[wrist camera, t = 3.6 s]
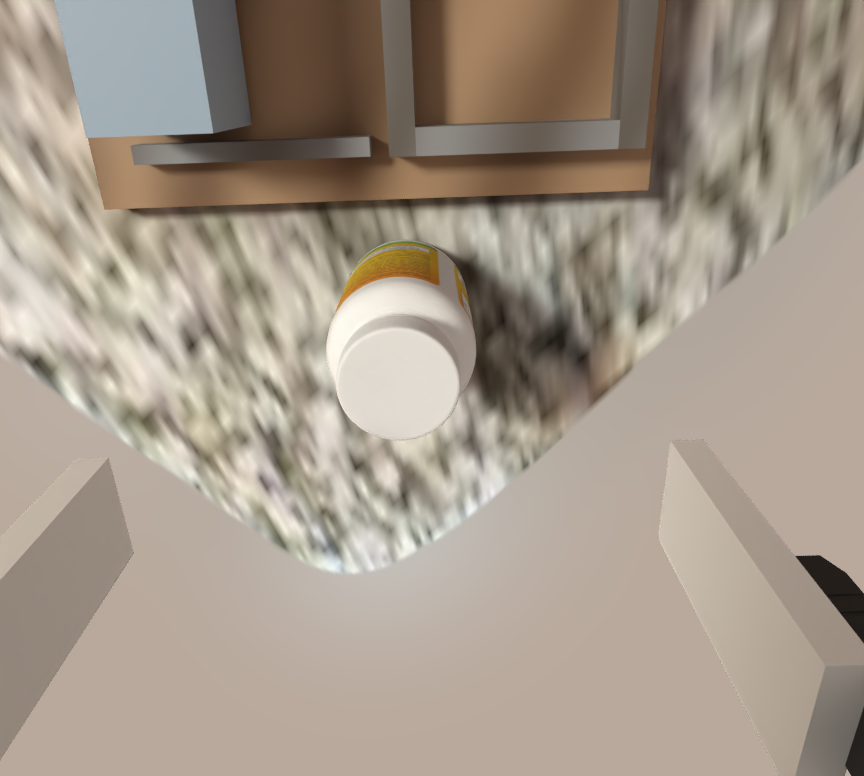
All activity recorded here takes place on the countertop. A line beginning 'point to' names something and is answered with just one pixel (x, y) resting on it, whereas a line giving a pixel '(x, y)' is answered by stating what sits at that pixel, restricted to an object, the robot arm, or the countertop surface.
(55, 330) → the countertop surface
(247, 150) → the brown tray with rails
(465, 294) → the supplement bottle
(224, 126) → the block
